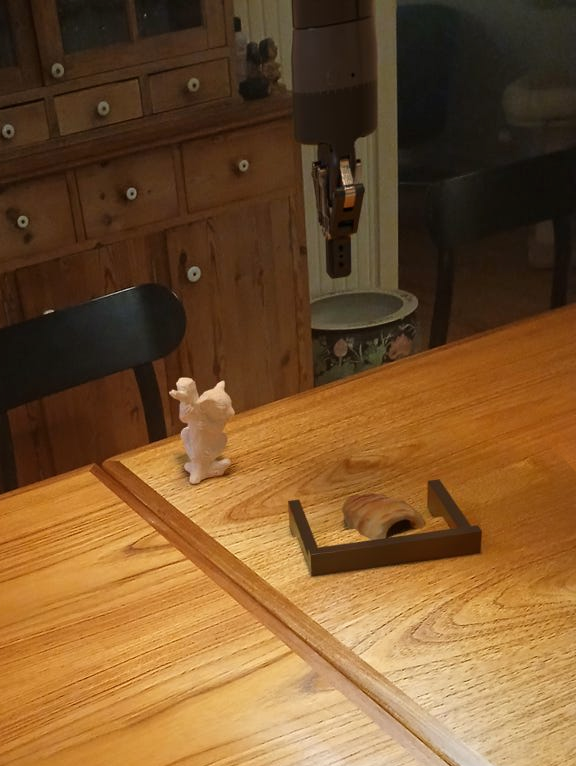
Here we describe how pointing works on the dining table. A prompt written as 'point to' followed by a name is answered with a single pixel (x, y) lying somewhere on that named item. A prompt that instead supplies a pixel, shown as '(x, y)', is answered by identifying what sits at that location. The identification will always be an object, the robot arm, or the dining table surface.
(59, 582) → the dining table surface
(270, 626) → the dining table surface
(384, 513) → the pastry
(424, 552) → the frame
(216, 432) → the white animal figurine
